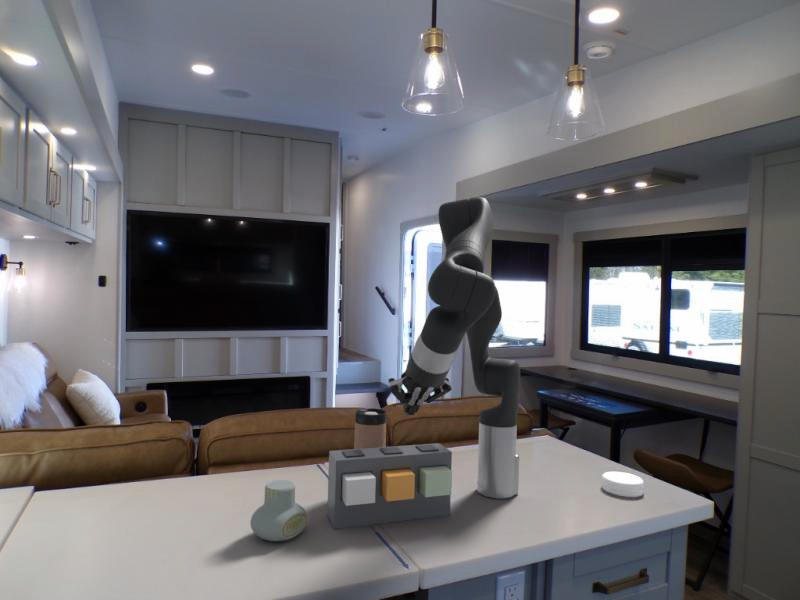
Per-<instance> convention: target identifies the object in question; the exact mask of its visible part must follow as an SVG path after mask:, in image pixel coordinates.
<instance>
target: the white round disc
mask: <svg viewBox="0 0 800 600" xmlns="http://www.w3.org/2000/svg"><path fill="white" fill-rule="evenodd" d="M644 485H645V483H644V480H643V478H642V477H640V476H638V475H636V474H632V473H628V472H625V471H605V472H604V473H603V474H602V475H601V488H602V490H604V491H605V492H606V493H609V494H611V495H615V496H619V497H626V498H638V497H641V496H643V495H644V493H645V491H644V488H645V486H644Z"/></svg>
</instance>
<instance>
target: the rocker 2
mask: <svg viewBox="0 0 800 600" xmlns="http://www.w3.org/2000/svg"><path fill="white" fill-rule="evenodd" d="M452 478H453V471H452V469H451V470H450V469H448V468H447V467H446V466H445V465H435V466H424V467H419V472H418V491H419V492H420V493H421V494H422V495H423V496H424V497H433V496H443V495H452V490H453V489H452V486H453V485H452V484H453V483H452V480H453V479H452Z"/></svg>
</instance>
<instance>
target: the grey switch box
mask: <svg viewBox="0 0 800 600" xmlns="http://www.w3.org/2000/svg"><path fill="white" fill-rule="evenodd" d="M328 452H329V453H328V478H327V480H328V481H327V483H328V485H327V510H326V511H327V512H326V513H327V514H326V515H327V518H328V519H329V522H330V524H331V526H332V528H333V529H334V530H337V529H339V530H340V529H349V528H355V527H365V526H373V525H380V524H390V523H396V522H406V521H413V520H414V521H415V520H422V519H429V518H431V519H432V518H438V517H445V516H450V515H451V495H452V494H451V495H443V496H433V497H424V496H423V495H422V494H421V493H420V492H419V491H418V472H419V467H424V466H435V465H445V466H446V467H447V468H448V469H450V470H451V471H452V462H453V461H452V460H453V459H452V457H453V456H452V455H453V454H452V453H453V452H452V451H451V450H450V449H448V448H447V447H446V446H444V445H442V444H441V443H423V444H411V445H410V444H409V445H397V446H396V445H395V446H386V447H379V448H364V449H354V448H352V449H339V450H336V449H335V450H329V451H328ZM400 468H408V469H409V470H411V471H412V472H413V473H414V474H415V488H414V499H405V500H396V501H386V500H385V499H384V497H383V496H382V495H381V494H380V489H381V470H389V469H400ZM365 471H370V472H371V473H372V474H373V475H374V477H375V478H376V488H375V503H368V504H358V505H349V506H346V505H345V503H344V501H343V500H342V498H341V474H342V473H353V472H365ZM348 527H349V528H348Z"/></svg>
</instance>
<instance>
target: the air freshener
mask: <svg viewBox="0 0 800 600" xmlns="http://www.w3.org/2000/svg"><path fill="white" fill-rule="evenodd" d="M250 517H251V518H250V521H249V522H250V528H251V530H252V531H253V533H254V534H255V536H257V537H258V538H260V539H262V540H265V541H268V542H286V541H289V540H291V539H292V538H295V537H297V536H298V535H299V534H301V532H302V531H303V530H304V529H305V528H306V525H307V523H308V514H307V512H306V510H305V508H304V507H303V506H302V505H301V504H299V503H298V502H296V484H295V483H294V482H293V481H291V480H286V479H278V480H272V481H270V482H268V483H267V484H265V486H264V503H263V504H262V505H261V506H259V507H258V508H257V509H256V510H255V511H254V512H253V513H252V515H251V516H250Z"/></svg>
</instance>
